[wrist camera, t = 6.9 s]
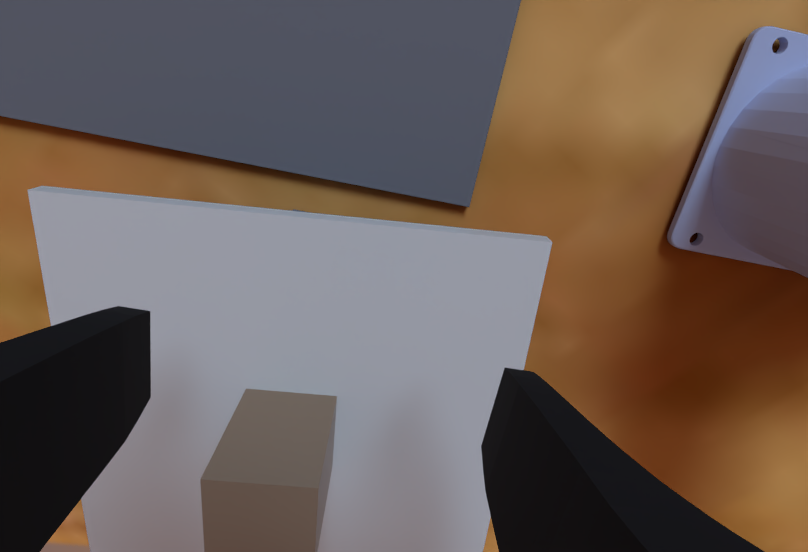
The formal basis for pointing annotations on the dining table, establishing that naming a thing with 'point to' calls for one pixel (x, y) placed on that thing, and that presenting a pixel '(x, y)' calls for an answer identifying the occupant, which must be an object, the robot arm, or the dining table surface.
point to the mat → (271, 81)
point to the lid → (295, 370)
